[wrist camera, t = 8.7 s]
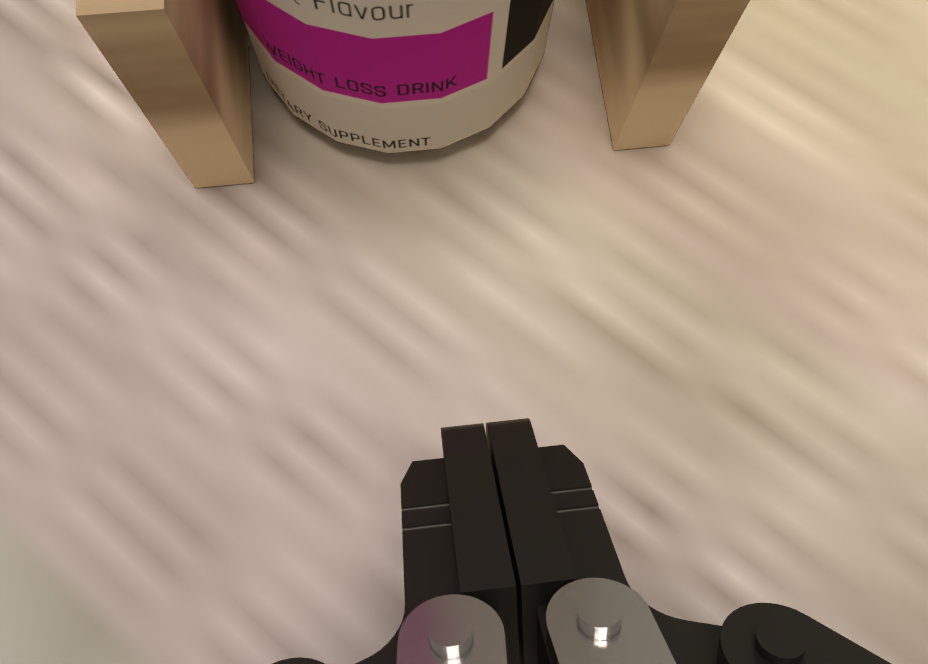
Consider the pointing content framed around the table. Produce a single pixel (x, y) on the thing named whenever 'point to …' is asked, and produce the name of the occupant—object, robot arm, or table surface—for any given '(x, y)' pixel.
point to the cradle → (228, 77)
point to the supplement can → (398, 64)
